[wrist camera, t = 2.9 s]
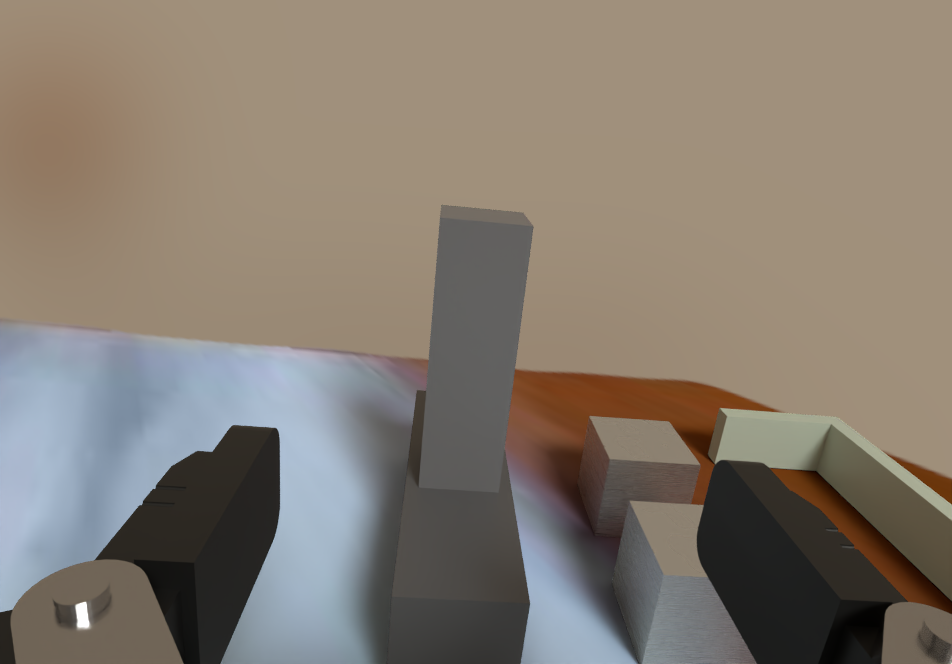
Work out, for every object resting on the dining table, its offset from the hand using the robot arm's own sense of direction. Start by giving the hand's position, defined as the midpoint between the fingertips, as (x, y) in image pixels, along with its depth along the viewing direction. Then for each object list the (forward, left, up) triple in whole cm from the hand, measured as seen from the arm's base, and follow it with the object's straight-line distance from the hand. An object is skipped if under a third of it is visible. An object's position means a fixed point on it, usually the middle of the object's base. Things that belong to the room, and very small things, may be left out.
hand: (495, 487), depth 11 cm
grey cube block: (+9, +15, -11) cm, 20 cm away
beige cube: (+9, +8, -11) cm, 16 cm away
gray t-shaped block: (0, +11, -11) cm, 16 cm away
